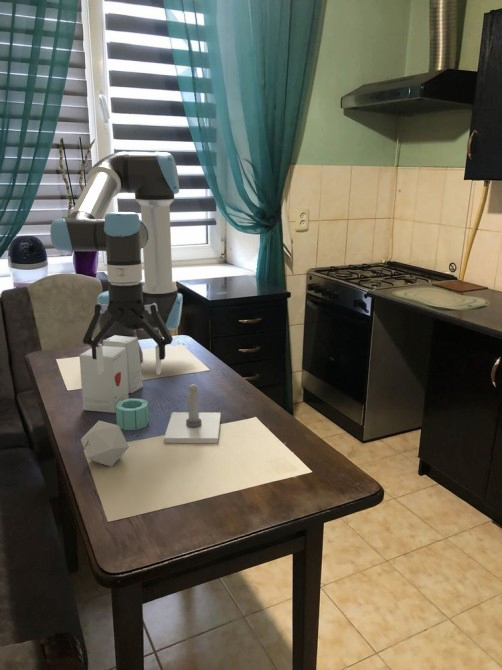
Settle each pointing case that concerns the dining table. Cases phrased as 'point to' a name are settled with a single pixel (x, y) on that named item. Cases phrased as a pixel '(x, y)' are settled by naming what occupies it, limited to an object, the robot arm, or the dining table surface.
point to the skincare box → (129, 359)
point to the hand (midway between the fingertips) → (129, 372)
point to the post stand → (193, 423)
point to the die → (104, 443)
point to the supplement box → (104, 380)
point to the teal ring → (132, 414)
